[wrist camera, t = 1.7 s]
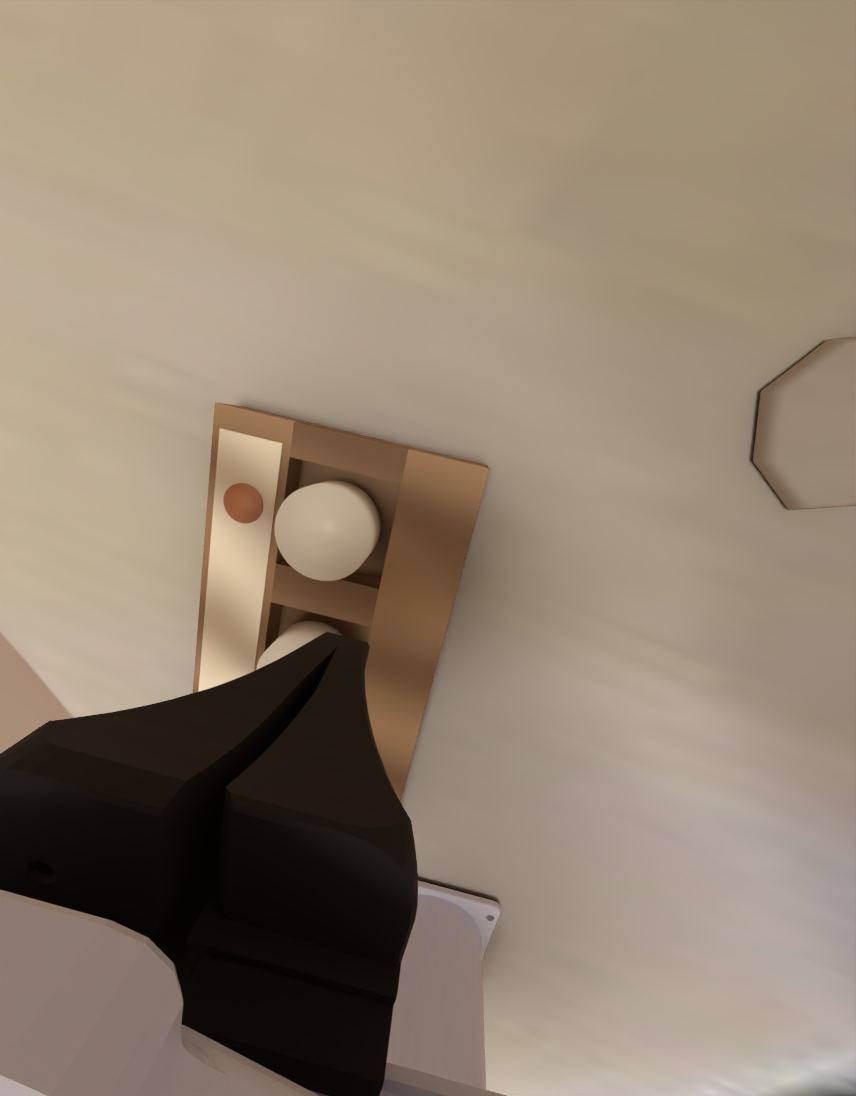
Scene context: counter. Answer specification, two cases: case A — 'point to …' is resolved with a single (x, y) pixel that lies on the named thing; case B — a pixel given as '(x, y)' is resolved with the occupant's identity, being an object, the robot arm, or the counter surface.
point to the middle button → (294, 640)
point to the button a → (327, 529)
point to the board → (354, 601)
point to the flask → (811, 429)
